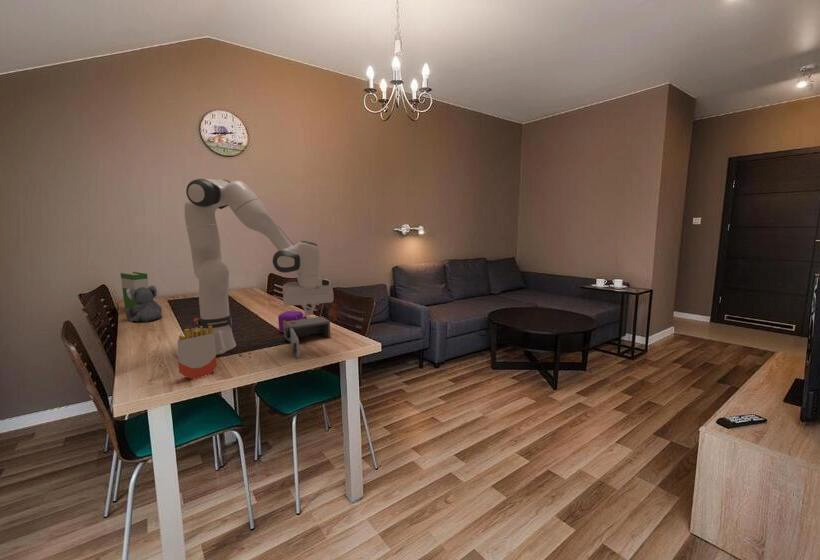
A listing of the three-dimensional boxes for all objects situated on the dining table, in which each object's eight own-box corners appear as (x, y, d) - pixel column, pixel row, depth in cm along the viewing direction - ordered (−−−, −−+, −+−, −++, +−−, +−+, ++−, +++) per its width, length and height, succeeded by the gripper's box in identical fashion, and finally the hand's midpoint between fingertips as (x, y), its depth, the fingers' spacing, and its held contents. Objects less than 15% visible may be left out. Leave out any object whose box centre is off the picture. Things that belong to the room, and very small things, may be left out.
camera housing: (289, 345, 163) (288, 326, 162) (282, 338, 172) (281, 320, 171) (330, 337, 173) (329, 319, 172) (322, 331, 182) (321, 315, 181)
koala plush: (161, 314, 222) (157, 282, 219) (168, 319, 210) (165, 285, 207) (125, 319, 210) (121, 286, 207) (131, 325, 198) (127, 289, 195)
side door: (288, 344, 163) (287, 328, 161) (293, 344, 163) (292, 327, 162) (294, 358, 146) (293, 340, 145) (299, 357, 147) (298, 339, 146)
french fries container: (179, 378, 128) (174, 328, 125) (212, 369, 136) (207, 322, 134) (184, 382, 125) (179, 331, 122) (217, 372, 133) (213, 324, 131)
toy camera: (305, 334, 179) (303, 314, 177) (277, 334, 179) (275, 314, 178) (311, 328, 189) (310, 309, 188) (285, 328, 190) (283, 309, 188)
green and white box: (125, 311, 231) (120, 273, 227) (138, 308, 237) (134, 271, 233) (137, 314, 221) (132, 275, 218) (151, 312, 228) (147, 273, 224)
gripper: (284, 283, 141) (284, 318, 143) (335, 281, 152) (334, 313, 154) (280, 281, 147) (280, 315, 148) (329, 279, 158) (329, 311, 159)
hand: (308, 314), depth 151 cm, fingers closed
